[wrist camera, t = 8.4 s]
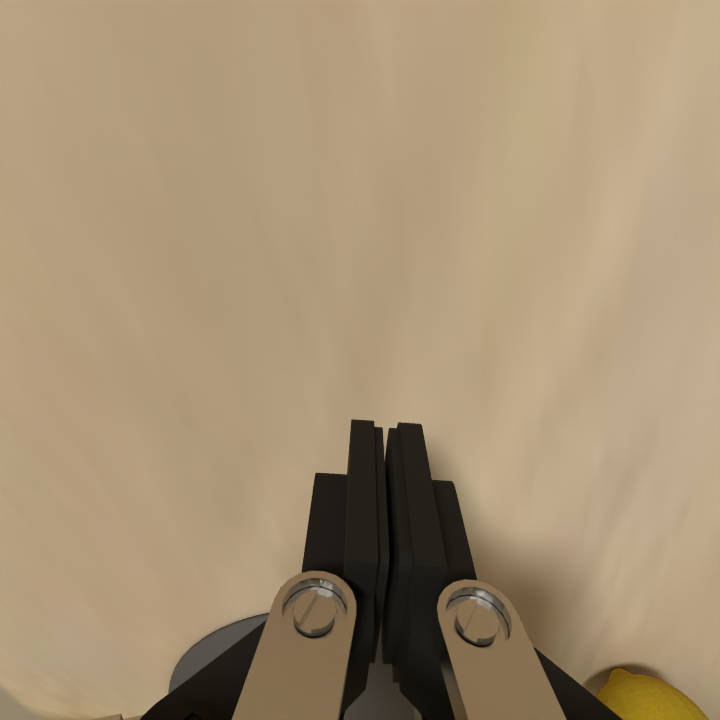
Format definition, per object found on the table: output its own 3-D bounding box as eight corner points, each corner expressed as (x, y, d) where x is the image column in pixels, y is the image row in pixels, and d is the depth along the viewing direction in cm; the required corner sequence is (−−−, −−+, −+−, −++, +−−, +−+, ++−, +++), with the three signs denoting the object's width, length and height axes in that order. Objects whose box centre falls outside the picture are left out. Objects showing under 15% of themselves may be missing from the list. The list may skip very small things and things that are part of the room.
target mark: (465, 608, 22) (466, 612, 21) (424, 759, 28) (424, 763, 28) (152, 608, 21) (150, 613, 20) (184, 765, 27) (183, 769, 27)
